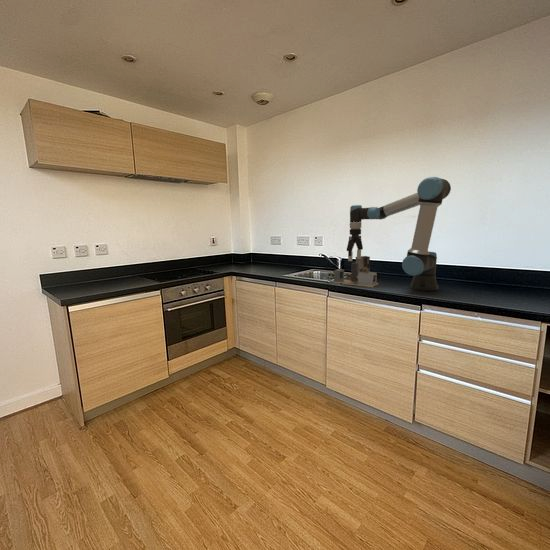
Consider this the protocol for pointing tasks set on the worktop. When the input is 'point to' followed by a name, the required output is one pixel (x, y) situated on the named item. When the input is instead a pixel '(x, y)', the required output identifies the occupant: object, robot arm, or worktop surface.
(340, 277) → the socket
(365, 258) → the coffee box
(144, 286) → the worktop surface
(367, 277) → the guide
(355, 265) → the brown stepped block
